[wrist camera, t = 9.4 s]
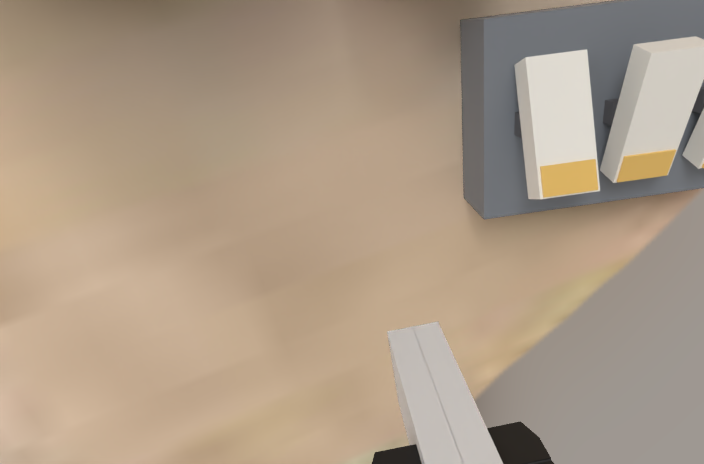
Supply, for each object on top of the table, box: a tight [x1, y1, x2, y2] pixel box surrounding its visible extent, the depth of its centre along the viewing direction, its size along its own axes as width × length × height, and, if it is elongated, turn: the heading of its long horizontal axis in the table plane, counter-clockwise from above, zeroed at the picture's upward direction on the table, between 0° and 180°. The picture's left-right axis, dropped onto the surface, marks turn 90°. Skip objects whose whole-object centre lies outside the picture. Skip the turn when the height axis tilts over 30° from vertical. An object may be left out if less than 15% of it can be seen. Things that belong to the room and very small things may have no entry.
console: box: [460, 0, 704, 219], centre depth 36 cm, size 14×20×6 cm
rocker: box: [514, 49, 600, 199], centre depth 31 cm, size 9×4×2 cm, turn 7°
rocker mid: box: [600, 36, 704, 183], centre depth 32 cm, size 9×4×2 cm, turn 6°
